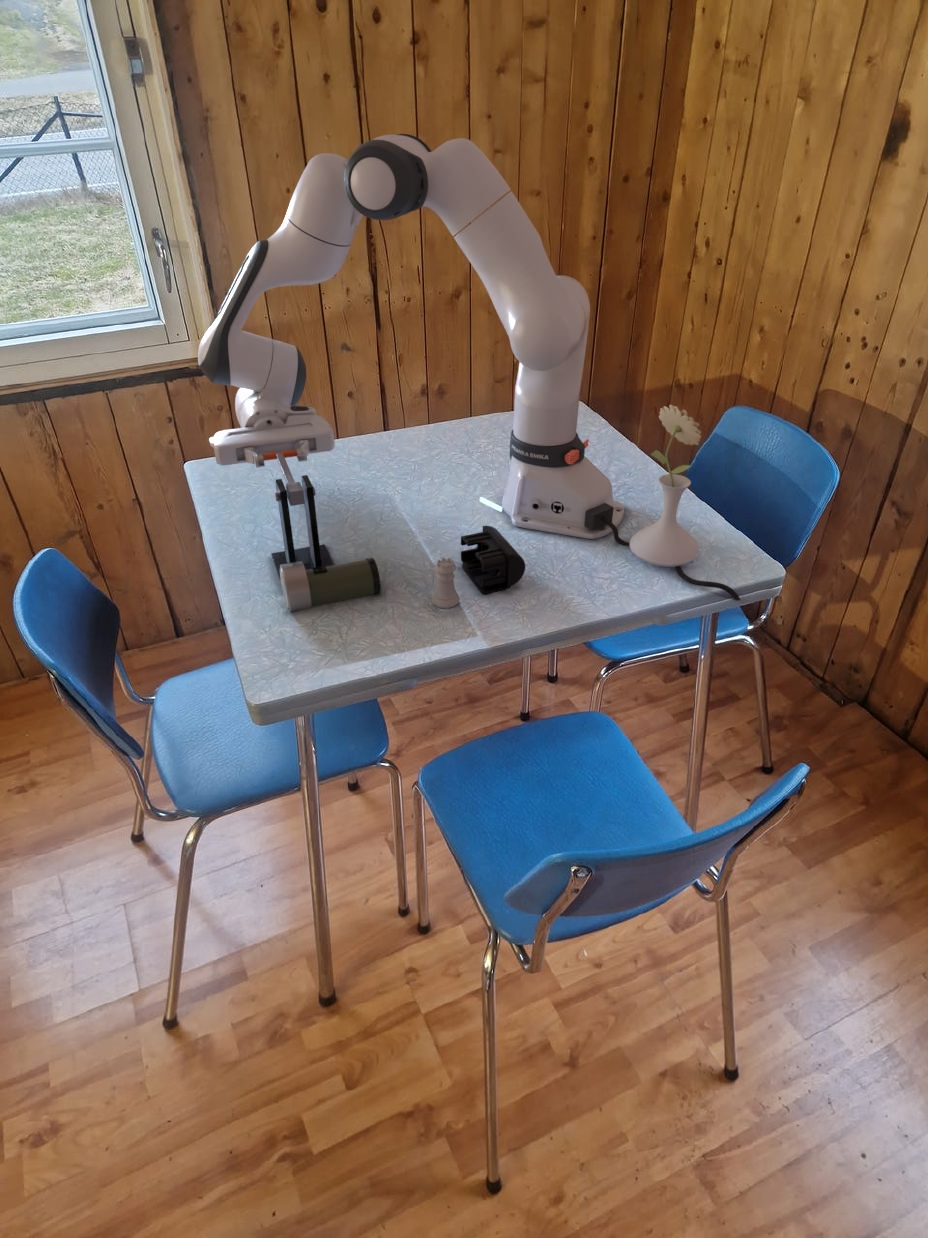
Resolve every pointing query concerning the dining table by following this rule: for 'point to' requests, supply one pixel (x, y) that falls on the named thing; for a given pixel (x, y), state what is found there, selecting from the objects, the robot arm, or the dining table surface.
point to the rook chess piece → (445, 584)
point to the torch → (328, 583)
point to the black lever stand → (314, 553)
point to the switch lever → (288, 476)
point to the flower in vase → (670, 502)
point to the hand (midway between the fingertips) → (281, 460)
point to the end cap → (491, 561)
